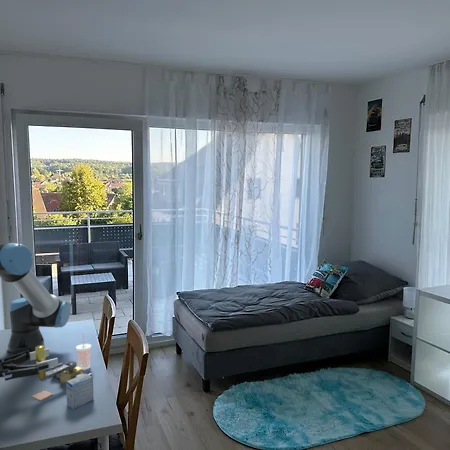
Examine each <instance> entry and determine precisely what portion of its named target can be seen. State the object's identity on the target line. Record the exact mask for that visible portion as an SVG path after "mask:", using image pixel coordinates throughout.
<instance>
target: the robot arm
mask: <svg viewBox="0 0 450 450" xmlns="http://www.w3.org/2000/svg"><path fill="white" fill-rule="evenodd" d="M32 267H33V257H32V252H31V250H30V249H29V248H28V246H26V245H24V244H22V243H16V242H0V278H1V279H2V280H3V281H4V282H5V283H10V284H12V285H13V286H14V287H15V289H16V290H17V291H18V292H19V293H20V294H21V295H22V297H21V298H17V299H14V300H13V301H11V302H10V305H9V315H10V328H11V329H10V330H11V331H10V332H11V334H10V337H9V340H8V345H7V350H8V351H7V352H9V353H11V354H12V355H9V356H7V357H2V358H0V378H4V381H5V382H6V381H11V380H14V379H20V378H28V377H32V376H33V377H34V376H37V375H38V374H39V371H41V370H45V369H46V370H49V369H51V368H52V367H56V366H58V364H59V359H58V357H55V358H52V359H48V360H45V361H43V362H39V363H38V364H36V363H35V364H23V363H25V362H27V361H30V362H31V361H36V351H35V347H36V346H39V345H44V346H45V339H44V336H43V334H42V331H41V329H40V328H44V327H45V328H56V329H58V328H63V327H65V326H66V325H67V324H68V322H69V318H70V316H71V304H70V303H69V302H68V301H65V300H63V301H62V300H60V299H59V297H57V296H56V294H51V293H50V292H49V291H48V290H47V288H46V287H45V285H43V283H42V281H41V280H40V279H39V278H38V277H37V275H36V274H35V273H34V272H33V270H32ZM46 357H50V348H49V347H48V348H45V358H46ZM22 364H23V365H22Z"/></svg>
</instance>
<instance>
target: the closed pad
mask: <svg viewBox="0 0 450 450" xmlns="http://www.w3.org/2000/svg"><path fill="white" fill-rule="evenodd" d="M51 396H54V393H52V392H49V391H48V390H45V389H44V390H42V391H40V392H38V393H36V394H33V395H32V396H31V398H32V399H35V400H37V401H39V402H42V401H43V400H46V399H48V398H50V397H51Z"/></svg>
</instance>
